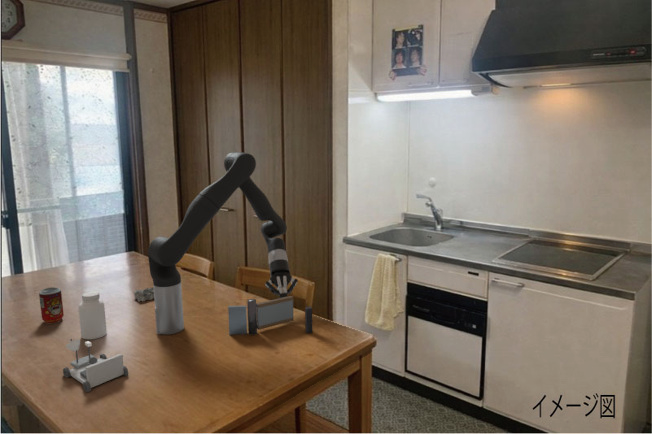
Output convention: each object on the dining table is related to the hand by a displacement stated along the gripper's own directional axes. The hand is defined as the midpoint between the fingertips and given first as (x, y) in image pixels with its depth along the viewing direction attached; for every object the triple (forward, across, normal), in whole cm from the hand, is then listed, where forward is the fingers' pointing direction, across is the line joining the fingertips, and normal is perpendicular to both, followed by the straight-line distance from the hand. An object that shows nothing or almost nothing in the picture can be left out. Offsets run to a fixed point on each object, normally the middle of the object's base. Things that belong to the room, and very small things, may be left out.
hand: (284, 303), depth 177 cm
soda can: (-10, -84, +18) cm, 86 cm away
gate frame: (+12, -7, -5) cm, 15 cm away
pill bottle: (+3, -66, +5) cm, 66 cm away
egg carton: (-22, -52, +30) cm, 64 cm away
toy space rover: (+23, -61, -15) cm, 67 cm away
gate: (+9, -5, -2) cm, 10 cm away
